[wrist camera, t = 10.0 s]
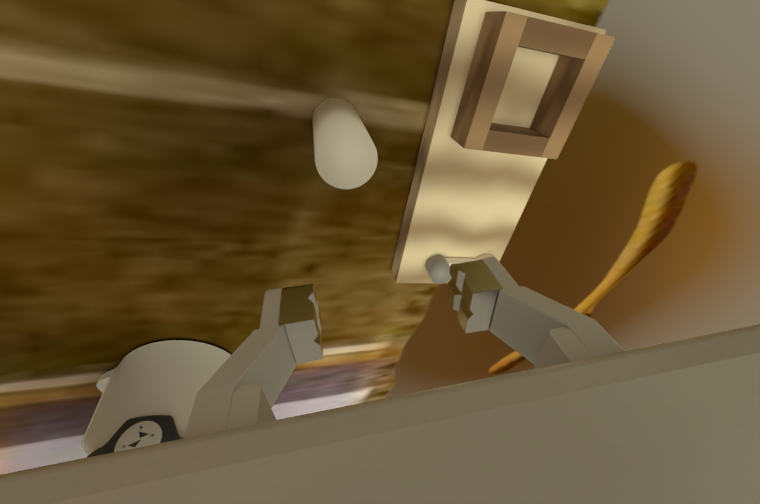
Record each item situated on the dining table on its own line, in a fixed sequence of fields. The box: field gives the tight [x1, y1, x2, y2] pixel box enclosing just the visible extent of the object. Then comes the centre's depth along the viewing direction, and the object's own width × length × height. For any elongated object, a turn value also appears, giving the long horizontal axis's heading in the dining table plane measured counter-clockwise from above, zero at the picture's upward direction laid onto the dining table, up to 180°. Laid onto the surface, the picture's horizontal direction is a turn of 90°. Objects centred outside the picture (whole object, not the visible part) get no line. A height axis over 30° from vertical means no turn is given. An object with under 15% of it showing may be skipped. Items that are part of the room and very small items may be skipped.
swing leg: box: [425, 254, 496, 284], centre depth 34 cm, size 9×3×6 cm, turn 80°
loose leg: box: [312, 98, 378, 189], centre depth 24 cm, size 4×4×9 cm
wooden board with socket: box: [392, 0, 615, 283], centre depth 31 cm, size 26×12×5 cm, turn 171°
